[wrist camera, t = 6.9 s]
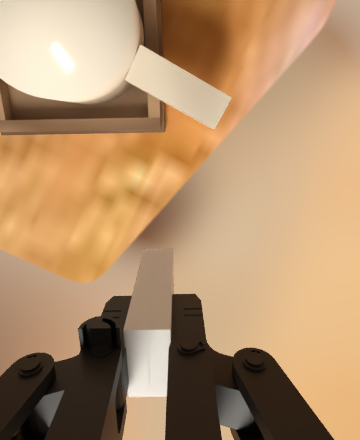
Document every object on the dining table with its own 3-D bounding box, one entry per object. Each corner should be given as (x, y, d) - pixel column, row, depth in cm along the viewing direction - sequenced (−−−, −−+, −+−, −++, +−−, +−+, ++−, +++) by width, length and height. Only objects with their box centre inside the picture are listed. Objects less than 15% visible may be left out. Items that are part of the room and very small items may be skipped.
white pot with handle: (11, 68, 27) (-64, 47, 19) (52, -56, 25) (-14, -147, 16) (188, 163, 30) (193, 181, 22) (243, 60, 27) (273, 35, 19)
